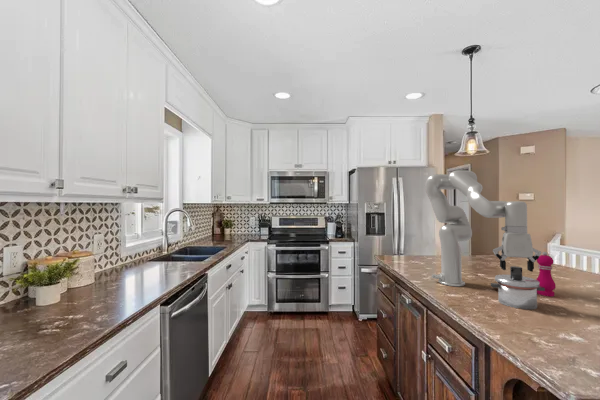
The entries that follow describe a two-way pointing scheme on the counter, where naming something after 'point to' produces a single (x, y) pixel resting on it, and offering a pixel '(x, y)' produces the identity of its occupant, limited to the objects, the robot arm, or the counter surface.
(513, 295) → the pot
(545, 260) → the pepper mill
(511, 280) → the lid
